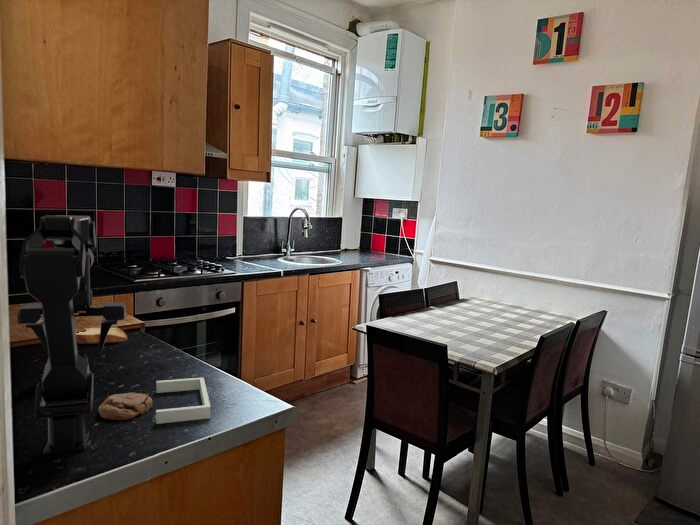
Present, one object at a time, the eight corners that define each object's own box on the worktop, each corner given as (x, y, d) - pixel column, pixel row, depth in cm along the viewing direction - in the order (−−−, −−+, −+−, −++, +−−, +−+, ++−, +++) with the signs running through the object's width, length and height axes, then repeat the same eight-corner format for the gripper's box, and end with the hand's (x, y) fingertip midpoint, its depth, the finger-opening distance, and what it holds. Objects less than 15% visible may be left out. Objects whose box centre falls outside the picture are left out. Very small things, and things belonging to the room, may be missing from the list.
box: (210, 418, 104) (210, 406, 104) (156, 423, 100) (156, 412, 100) (203, 387, 120) (203, 377, 119) (156, 391, 116) (156, 381, 116)
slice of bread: (44, 340, 149) (43, 328, 149) (104, 329, 164) (103, 318, 163) (72, 354, 139) (71, 341, 138) (133, 341, 153) (133, 329, 153)
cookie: (162, 409, 108) (162, 395, 107) (115, 426, 99) (115, 412, 99) (135, 397, 113) (135, 384, 113) (88, 412, 104) (88, 398, 104)
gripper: (127, 272, 111) (127, 340, 113) (29, 272, 105) (31, 345, 107) (123, 279, 101) (124, 355, 103) (15, 281, 94) (17, 361, 96)
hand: (75, 353), depth 102 cm, fingers open, 9 cm apart
